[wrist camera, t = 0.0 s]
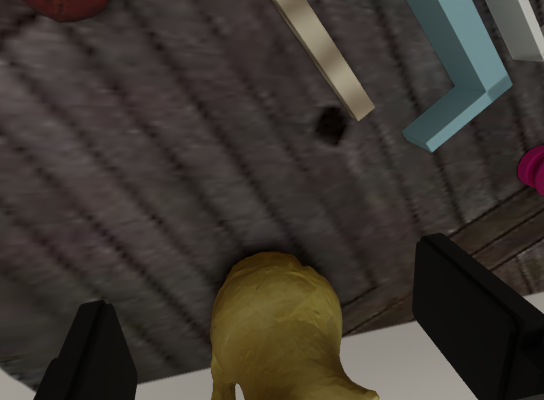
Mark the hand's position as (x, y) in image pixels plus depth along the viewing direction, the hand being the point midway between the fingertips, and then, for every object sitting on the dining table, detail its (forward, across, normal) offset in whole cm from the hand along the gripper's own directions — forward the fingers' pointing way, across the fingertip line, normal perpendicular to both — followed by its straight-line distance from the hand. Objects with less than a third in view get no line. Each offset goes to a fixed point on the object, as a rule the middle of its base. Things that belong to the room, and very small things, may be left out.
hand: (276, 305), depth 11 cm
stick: (+38, -13, -4) cm, 40 cm away
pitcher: (+38, -2, +28) cm, 47 cm away
